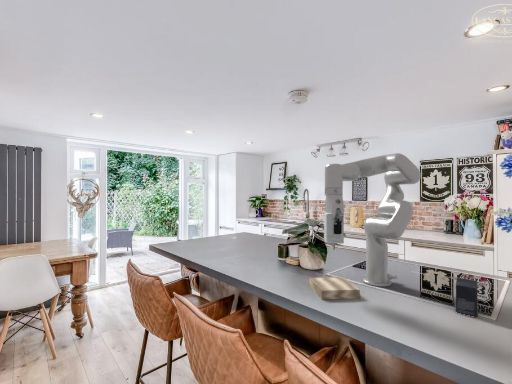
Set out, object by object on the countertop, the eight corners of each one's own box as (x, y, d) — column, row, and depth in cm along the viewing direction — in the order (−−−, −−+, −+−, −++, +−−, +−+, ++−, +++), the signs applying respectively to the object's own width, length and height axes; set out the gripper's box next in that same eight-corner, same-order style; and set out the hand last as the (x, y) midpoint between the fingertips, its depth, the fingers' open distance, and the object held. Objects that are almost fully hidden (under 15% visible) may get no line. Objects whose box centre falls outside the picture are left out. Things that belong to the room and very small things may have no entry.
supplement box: (344, 243, 111) (344, 213, 111) (326, 243, 112) (326, 213, 112) (340, 240, 118) (340, 212, 118) (323, 240, 119) (323, 212, 119)
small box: (456, 303, 104) (456, 276, 104) (477, 308, 99) (477, 280, 99) (454, 312, 95) (454, 283, 95) (478, 318, 91) (478, 287, 91)
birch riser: (342, 284, 123) (342, 277, 123) (359, 298, 108) (359, 289, 108) (309, 285, 122) (309, 277, 122) (321, 299, 106) (321, 290, 106)
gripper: (351, 192, 107) (350, 235, 107) (333, 192, 124) (333, 229, 124) (333, 192, 106) (333, 235, 106) (318, 192, 123) (318, 229, 123)
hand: (333, 232), depth 115 cm, fingers closed on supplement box, 8 cm apart
